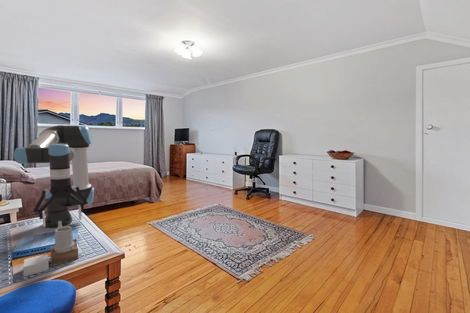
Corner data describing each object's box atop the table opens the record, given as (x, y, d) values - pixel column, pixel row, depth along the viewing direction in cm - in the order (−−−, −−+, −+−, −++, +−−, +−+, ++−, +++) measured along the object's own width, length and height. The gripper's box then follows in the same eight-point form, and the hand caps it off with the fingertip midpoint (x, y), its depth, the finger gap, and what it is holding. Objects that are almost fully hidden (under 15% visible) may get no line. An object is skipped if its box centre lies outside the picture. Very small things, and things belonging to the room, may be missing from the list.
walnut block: (50, 256, 112) (50, 246, 111) (76, 250, 118) (75, 241, 117) (51, 265, 104) (50, 255, 103) (78, 258, 110) (77, 248, 110)
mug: (56, 255, 104) (55, 228, 103) (49, 246, 111) (48, 222, 110) (76, 248, 109) (75, 224, 108) (68, 241, 117) (67, 218, 116)
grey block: (25, 268, 102) (24, 259, 102) (48, 261, 107) (47, 253, 107) (23, 276, 96) (23, 267, 96) (48, 269, 101) (48, 260, 101)
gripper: (23, 182, 97) (27, 231, 99) (93, 176, 113) (94, 218, 115) (24, 179, 103) (28, 225, 105) (90, 174, 118) (92, 214, 121)
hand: (63, 222), depth 110 cm, fingers open, 13 cm apart
